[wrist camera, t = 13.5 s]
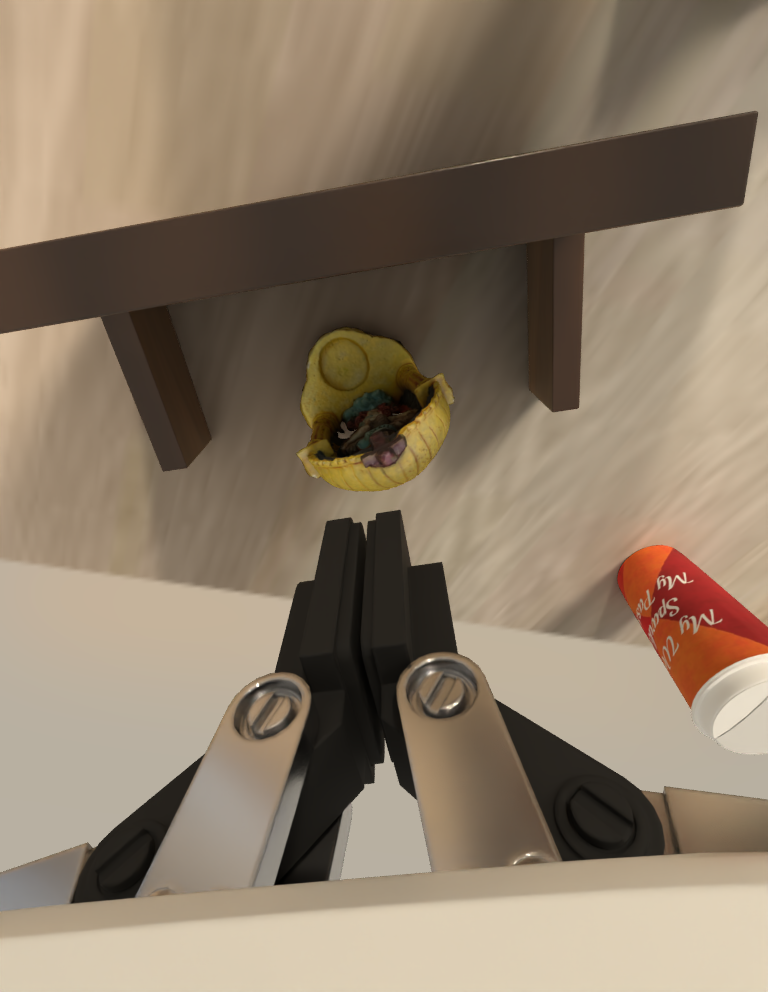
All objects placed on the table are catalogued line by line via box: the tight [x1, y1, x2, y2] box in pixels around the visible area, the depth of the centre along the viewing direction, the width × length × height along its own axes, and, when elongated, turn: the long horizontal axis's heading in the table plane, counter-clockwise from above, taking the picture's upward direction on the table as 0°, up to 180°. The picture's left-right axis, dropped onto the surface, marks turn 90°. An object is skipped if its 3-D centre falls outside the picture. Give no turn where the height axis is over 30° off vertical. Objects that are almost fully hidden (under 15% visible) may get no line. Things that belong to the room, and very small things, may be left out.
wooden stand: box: [0, 111, 758, 471], centre depth 24 cm, size 28×12×15 cm, turn 99°
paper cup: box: [617, 545, 768, 755], centre depth 34 cm, size 8×8×14 cm
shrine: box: [296, 327, 455, 492], centre depth 26 cm, size 12×8×15 cm
